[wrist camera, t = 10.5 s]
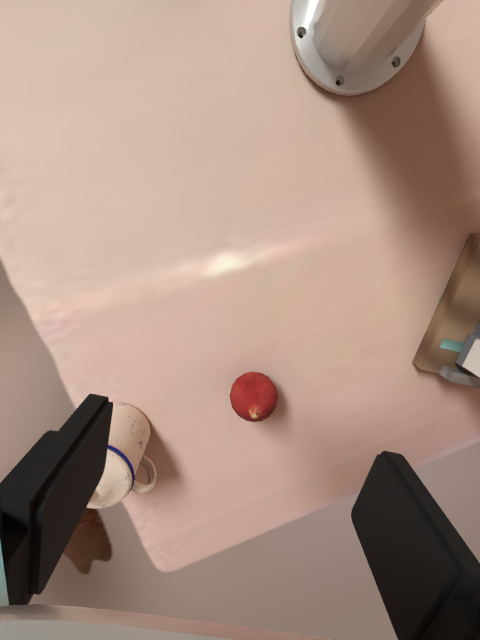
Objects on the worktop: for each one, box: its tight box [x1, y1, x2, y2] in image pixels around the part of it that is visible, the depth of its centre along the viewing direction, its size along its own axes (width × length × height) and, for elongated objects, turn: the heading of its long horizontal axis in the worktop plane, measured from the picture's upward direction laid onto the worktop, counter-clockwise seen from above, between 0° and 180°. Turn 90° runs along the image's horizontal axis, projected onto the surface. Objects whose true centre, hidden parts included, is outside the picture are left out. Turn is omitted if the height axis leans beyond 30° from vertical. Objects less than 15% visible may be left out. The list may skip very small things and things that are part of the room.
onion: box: [230, 372, 278, 422], centre depth 38 cm, size 6×6×8 cm
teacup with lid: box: [87, 403, 157, 508], centre depth 38 cm, size 12×9×12 cm
